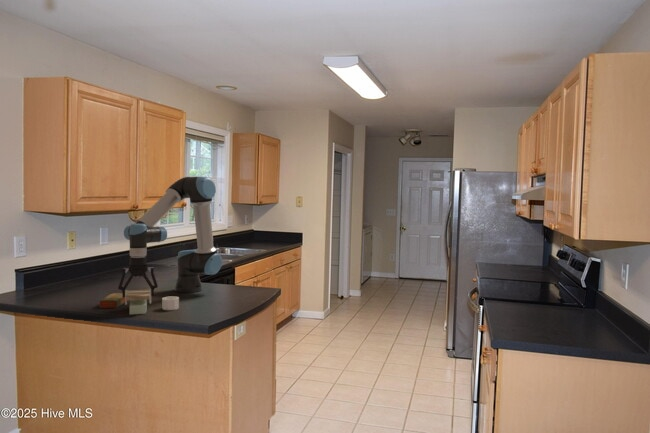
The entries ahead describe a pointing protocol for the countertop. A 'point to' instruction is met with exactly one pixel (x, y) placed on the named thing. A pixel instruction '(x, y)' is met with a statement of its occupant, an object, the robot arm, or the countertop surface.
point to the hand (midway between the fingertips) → (138, 303)
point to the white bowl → (170, 303)
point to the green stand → (138, 306)
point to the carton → (112, 301)
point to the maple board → (137, 294)
